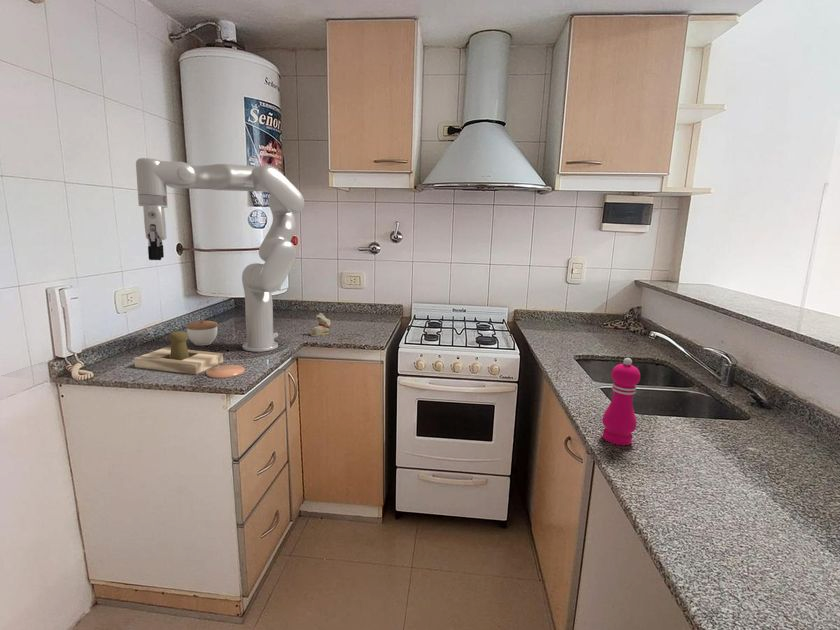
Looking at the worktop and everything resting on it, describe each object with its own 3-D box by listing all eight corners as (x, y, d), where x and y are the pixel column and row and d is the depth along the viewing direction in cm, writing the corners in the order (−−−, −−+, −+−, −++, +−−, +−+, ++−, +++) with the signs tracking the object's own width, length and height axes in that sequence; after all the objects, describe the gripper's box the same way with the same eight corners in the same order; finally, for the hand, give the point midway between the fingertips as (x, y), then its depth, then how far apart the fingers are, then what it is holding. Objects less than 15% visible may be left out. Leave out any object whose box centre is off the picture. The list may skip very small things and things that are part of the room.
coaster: (221, 365, 143) (221, 363, 143) (251, 368, 141) (251, 366, 141) (198, 375, 133) (198, 374, 133) (230, 379, 131) (230, 377, 131)
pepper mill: (593, 433, 105) (604, 353, 101) (619, 431, 107) (630, 352, 103) (613, 448, 98) (625, 363, 94) (640, 445, 100) (653, 362, 96)
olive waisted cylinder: (167, 367, 139) (164, 334, 136) (172, 362, 144) (169, 329, 142) (188, 367, 140) (186, 333, 138) (192, 361, 146) (190, 329, 144)
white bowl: (223, 340, 172) (222, 317, 171) (210, 347, 162) (208, 323, 160) (196, 339, 173) (195, 316, 171) (181, 346, 162) (179, 322, 160)
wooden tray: (166, 355, 151) (165, 347, 150) (223, 362, 146) (222, 353, 146) (134, 367, 138) (134, 358, 138) (196, 374, 134) (195, 365, 133)
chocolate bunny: (327, 337, 184) (327, 314, 182) (309, 336, 184) (309, 313, 182) (331, 334, 189) (331, 311, 187) (313, 333, 189) (313, 310, 187)
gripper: (165, 201, 126) (168, 261, 129) (169, 203, 141) (172, 256, 144) (134, 199, 123) (138, 260, 126) (141, 202, 138) (145, 256, 141)
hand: (156, 258), depth 135 cm, fingers open, 9 cm apart
